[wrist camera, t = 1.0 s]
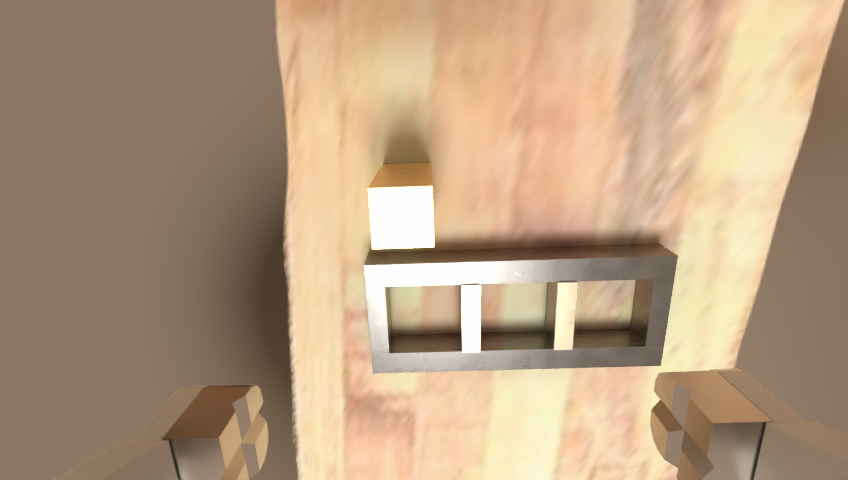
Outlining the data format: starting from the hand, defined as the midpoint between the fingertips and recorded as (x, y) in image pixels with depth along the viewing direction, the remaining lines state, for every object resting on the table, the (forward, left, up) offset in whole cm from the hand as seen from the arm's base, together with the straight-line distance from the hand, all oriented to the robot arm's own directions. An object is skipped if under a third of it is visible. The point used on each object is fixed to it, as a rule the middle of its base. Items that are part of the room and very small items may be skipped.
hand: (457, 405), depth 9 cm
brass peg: (+1, -2, -29) cm, 29 cm away
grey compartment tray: (+12, +7, -29) cm, 32 cm away
